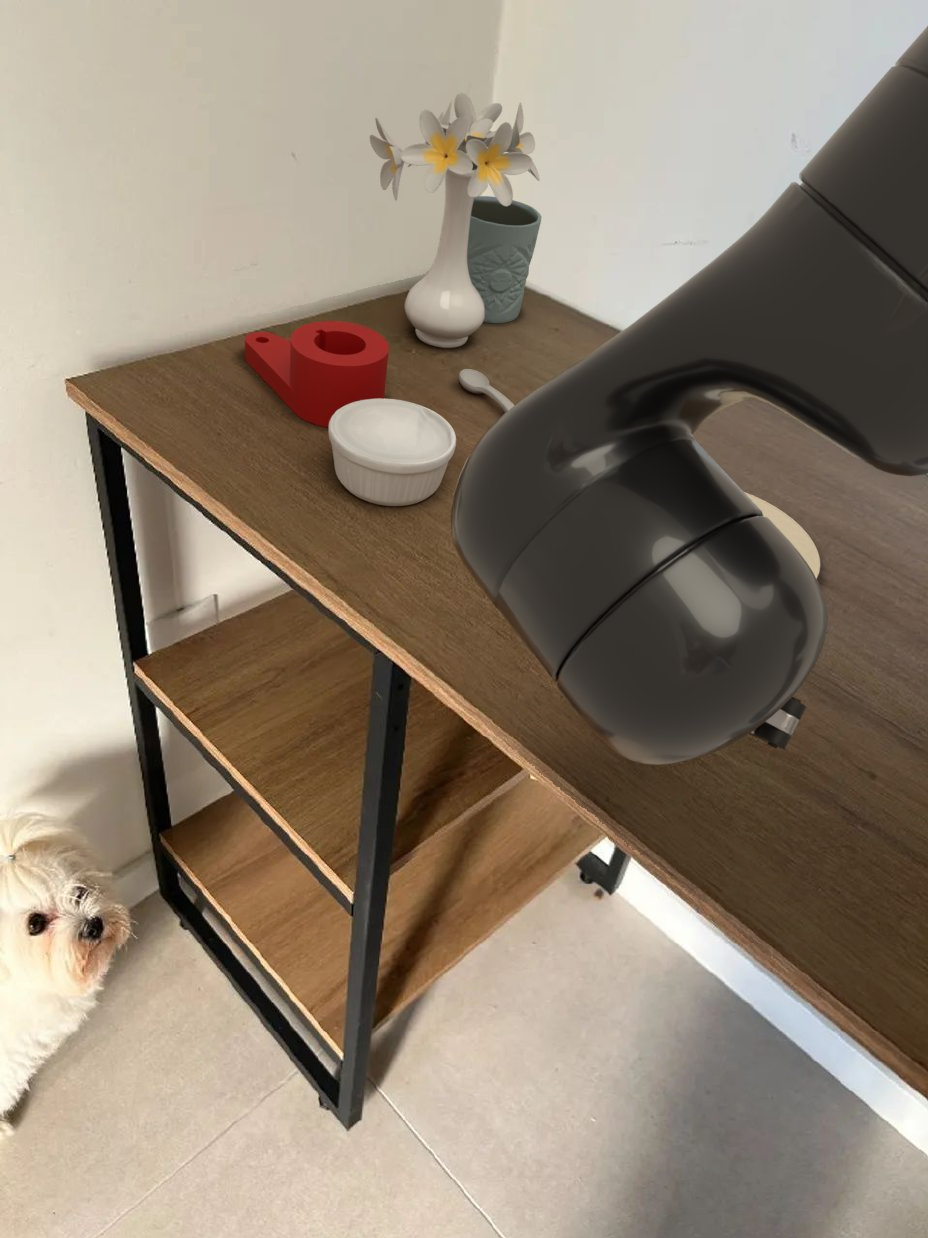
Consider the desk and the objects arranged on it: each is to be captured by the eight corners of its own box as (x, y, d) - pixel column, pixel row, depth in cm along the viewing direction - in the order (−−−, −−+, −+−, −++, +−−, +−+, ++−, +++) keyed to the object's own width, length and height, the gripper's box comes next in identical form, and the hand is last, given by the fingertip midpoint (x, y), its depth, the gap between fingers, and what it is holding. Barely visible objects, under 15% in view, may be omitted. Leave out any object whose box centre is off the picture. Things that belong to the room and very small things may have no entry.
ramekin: (471, 501, 85) (479, 451, 81) (360, 526, 79) (364, 474, 76) (412, 438, 91) (418, 389, 88) (307, 457, 86) (308, 407, 83)
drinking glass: (499, 333, 112) (516, 232, 104) (428, 305, 115) (440, 205, 107) (537, 309, 119) (556, 212, 111) (470, 283, 122) (484, 188, 114)
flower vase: (341, 325, 108) (355, 83, 91) (471, 306, 117) (505, 83, 100) (399, 376, 100) (425, 124, 84) (533, 352, 109) (580, 119, 93)
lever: (402, 410, 95) (408, 349, 91) (334, 438, 89) (337, 375, 85) (285, 341, 103) (286, 282, 98) (215, 363, 97) (213, 301, 92)
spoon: (473, 377, 102) (476, 360, 101) (537, 437, 96) (542, 421, 95) (451, 381, 101) (454, 365, 99) (515, 443, 95) (519, 427, 93)
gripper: (859, 642, 39) (823, 684, 55) (578, 514, 43) (623, 588, 59) (776, 802, 38) (765, 796, 55) (503, 658, 43) (568, 692, 59)
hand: (691, 688), depth 57 cm, fingers closed
